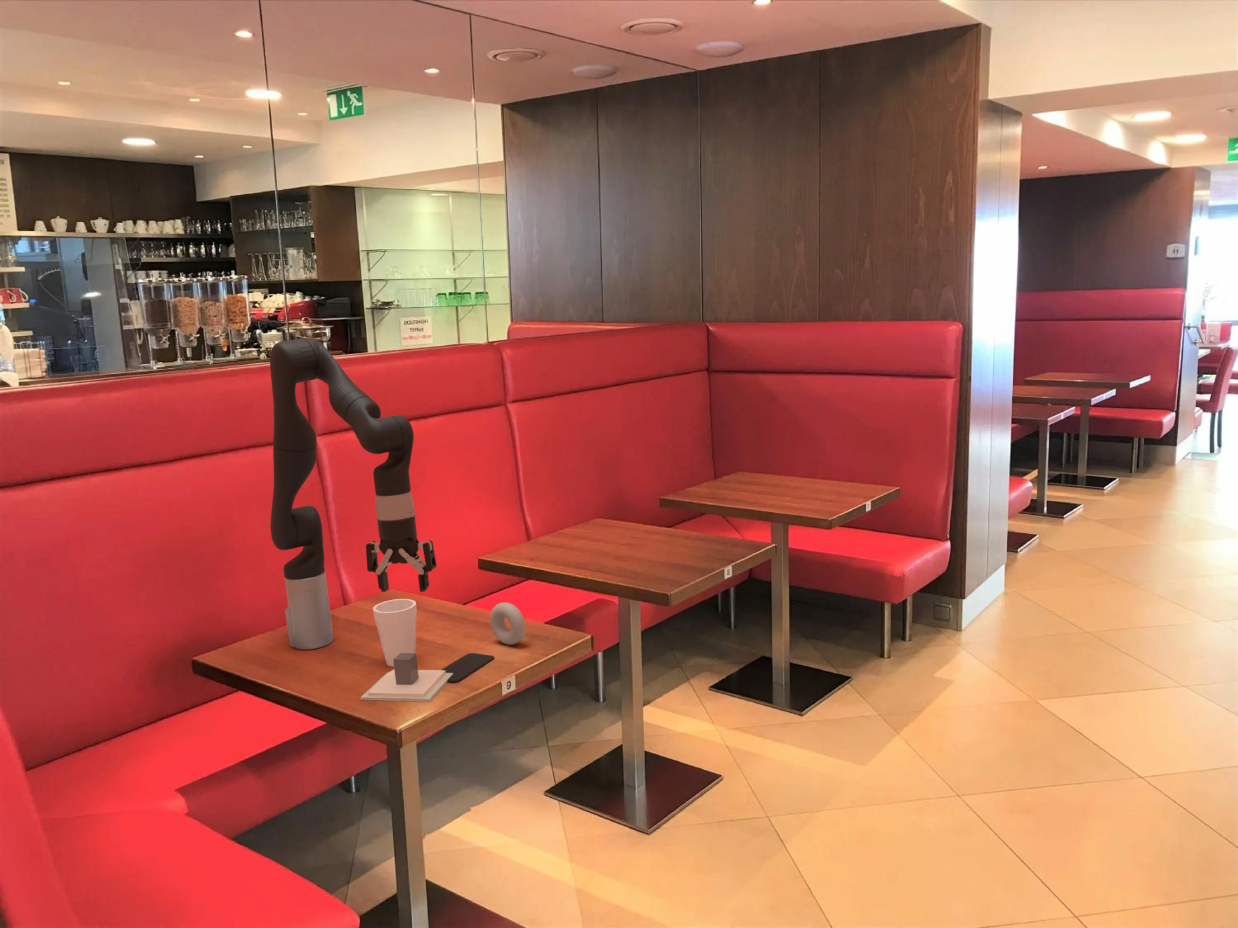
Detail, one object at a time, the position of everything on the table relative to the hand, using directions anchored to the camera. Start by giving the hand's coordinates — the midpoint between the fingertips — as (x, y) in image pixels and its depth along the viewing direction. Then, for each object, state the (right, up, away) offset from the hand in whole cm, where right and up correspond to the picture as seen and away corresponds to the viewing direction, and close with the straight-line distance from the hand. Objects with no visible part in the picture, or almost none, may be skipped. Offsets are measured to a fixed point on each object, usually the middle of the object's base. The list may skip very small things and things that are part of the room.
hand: (404, 590), depth 200 cm
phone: (+10, -19, +11) cm, 24 cm away
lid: (0, -20, +2) cm, 20 cm away
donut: (+19, -16, +24) cm, 34 cm away
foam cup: (-5, -18, +18) cm, 26 cm away
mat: (0, -21, +3) cm, 21 cm away
